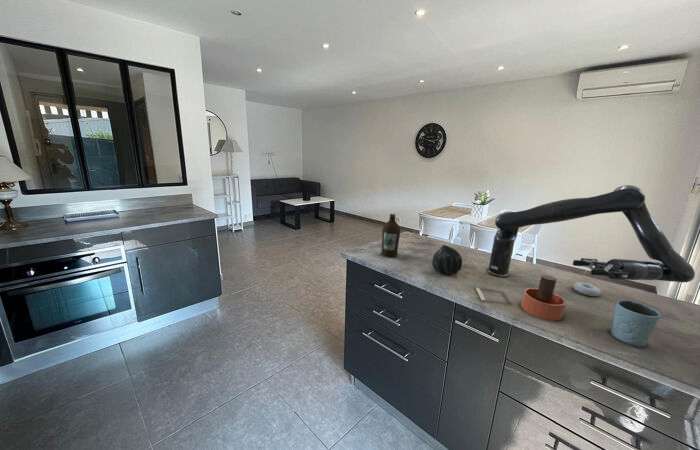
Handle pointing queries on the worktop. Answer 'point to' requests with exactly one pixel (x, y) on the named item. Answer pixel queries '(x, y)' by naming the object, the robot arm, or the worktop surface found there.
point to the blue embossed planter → (634, 322)
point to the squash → (447, 260)
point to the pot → (543, 305)
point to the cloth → (480, 294)
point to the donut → (586, 289)
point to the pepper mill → (546, 289)
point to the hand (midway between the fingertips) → (582, 267)
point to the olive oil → (390, 237)
